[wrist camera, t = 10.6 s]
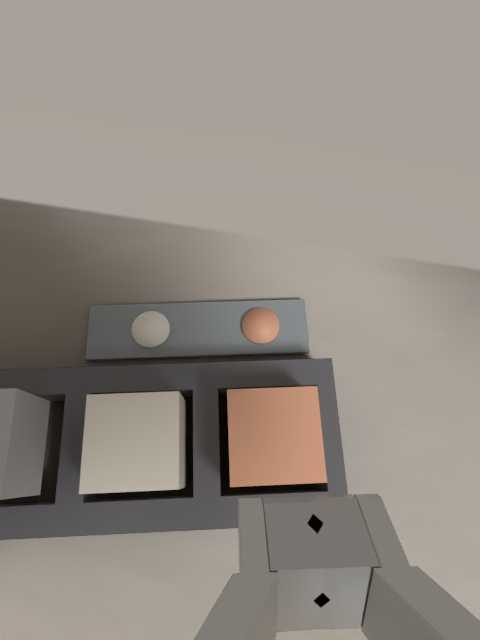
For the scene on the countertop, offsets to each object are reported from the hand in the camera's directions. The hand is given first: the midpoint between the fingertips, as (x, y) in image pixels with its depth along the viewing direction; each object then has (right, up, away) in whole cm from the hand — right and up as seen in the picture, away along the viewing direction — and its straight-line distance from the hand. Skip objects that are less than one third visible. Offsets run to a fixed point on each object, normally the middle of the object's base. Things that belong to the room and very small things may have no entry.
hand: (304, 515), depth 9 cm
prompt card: (-4, +4, +18) cm, 19 cm away
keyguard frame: (-7, -3, +16) cm, 17 cm away
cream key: (-7, -3, +15) cm, 16 cm away
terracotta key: (0, -3, +15) cm, 15 cm away
